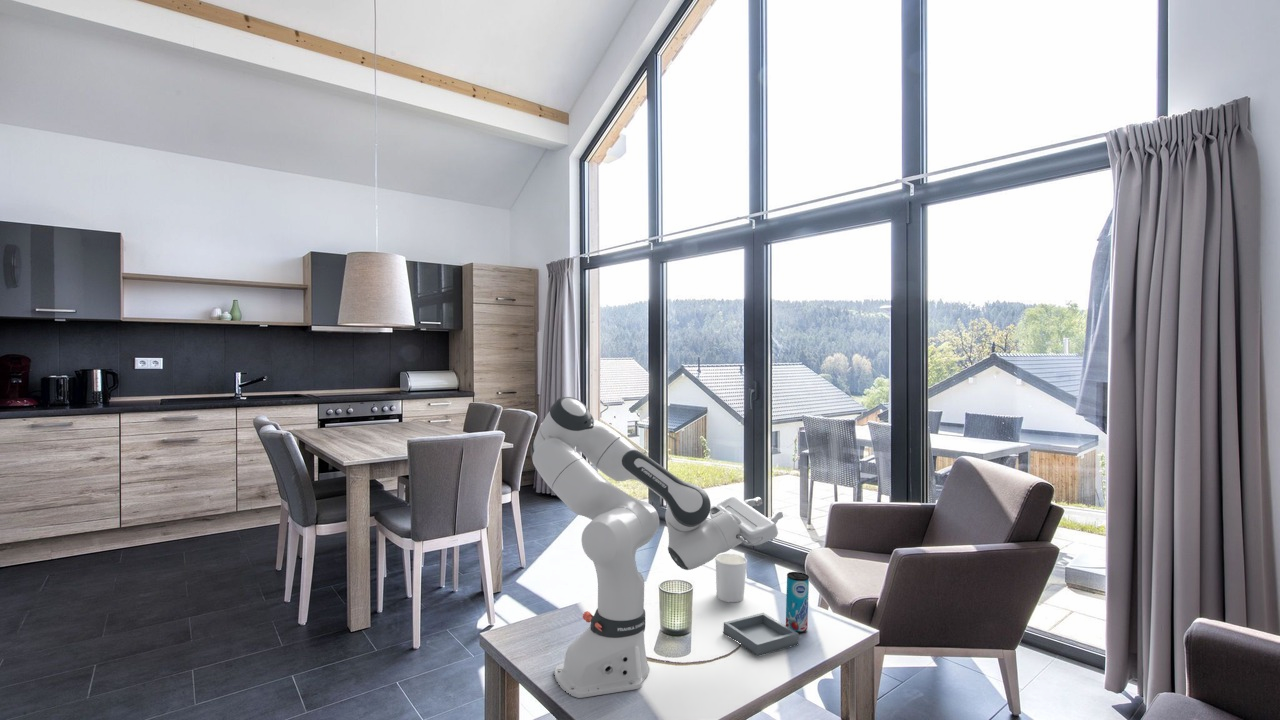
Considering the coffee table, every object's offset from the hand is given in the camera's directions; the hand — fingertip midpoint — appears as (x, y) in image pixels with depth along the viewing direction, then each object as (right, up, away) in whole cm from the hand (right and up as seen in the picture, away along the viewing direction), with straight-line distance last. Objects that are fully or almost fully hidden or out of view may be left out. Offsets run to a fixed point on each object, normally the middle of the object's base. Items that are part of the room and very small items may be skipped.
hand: (770, 506), depth 163 cm
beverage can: (+9, -36, +7) cm, 38 cm away
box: (-3, -36, 0) cm, 36 cm away
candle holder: (-7, -35, +28) cm, 45 cm away
